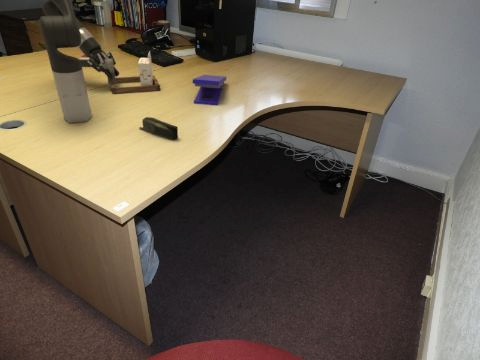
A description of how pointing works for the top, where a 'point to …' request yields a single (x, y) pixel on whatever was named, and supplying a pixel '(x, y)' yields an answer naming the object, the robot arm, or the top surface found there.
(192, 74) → the top surface
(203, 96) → the stapler
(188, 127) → the top surface
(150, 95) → the top surface
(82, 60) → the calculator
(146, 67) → the ink cartridge box
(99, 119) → the top surface
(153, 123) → the black desk stapler
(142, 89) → the rectangular wooden frame
